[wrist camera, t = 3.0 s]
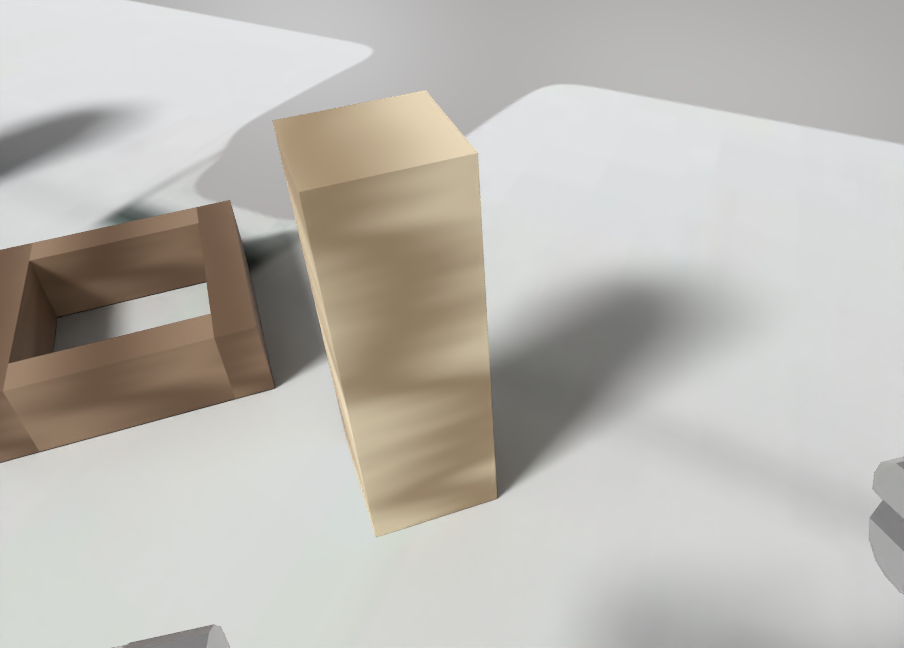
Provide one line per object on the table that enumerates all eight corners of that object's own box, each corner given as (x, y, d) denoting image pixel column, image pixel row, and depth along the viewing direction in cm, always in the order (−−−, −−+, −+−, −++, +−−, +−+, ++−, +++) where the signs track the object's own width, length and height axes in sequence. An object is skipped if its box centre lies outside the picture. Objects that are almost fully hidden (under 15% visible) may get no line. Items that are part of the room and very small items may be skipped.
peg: (457, 415, 27) (425, 90, 20) (497, 498, 24) (477, 152, 17) (348, 446, 26) (272, 120, 19) (376, 537, 23) (298, 192, 16)
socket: (245, 254, 37) (229, 200, 35) (274, 388, 29) (256, 327, 27) (24, 306, 35) (-5, 251, 33) (-5, 463, 27) (-46, 403, 25)
